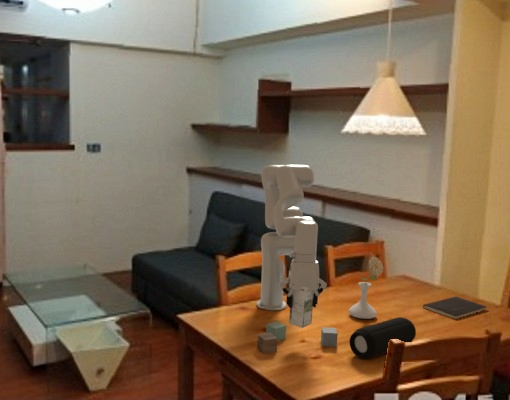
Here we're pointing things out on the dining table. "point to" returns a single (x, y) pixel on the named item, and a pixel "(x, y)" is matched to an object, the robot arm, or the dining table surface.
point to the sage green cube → (277, 330)
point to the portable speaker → (380, 336)
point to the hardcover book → (454, 307)
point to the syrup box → (301, 308)
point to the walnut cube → (267, 343)
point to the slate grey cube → (329, 337)
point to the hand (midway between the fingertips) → (301, 306)
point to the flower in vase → (362, 306)
